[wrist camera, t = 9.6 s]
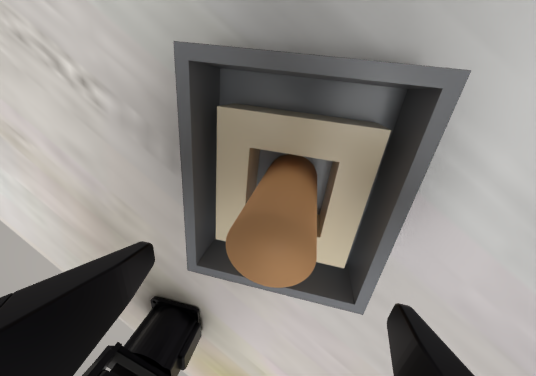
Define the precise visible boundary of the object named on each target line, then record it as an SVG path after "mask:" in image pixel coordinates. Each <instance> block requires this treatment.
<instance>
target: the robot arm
mask: <svg viewBox="0 0 536 376" xmlns="http://www.w3.org/2000/svg"><path fill="white" fill-rule="evenodd" d="M154 262H155V257H154V250H153V245H152V244H151V243H147V242H138V243H136V244H133V245H131V246H128V247H126V248H123V249H121V250H118V251H116V252H113V253H111V254H108V255H106V256H103V257H101V258H98V259H96V260H93V261H91V262H88V263H86V264H83V265H81V266H78V267H76V268H73V269H71V270H68V271H66V272H63V273H61V274H58V275H56V276H53V277H51V278H48V279H46V280H43V281H41V282H38V283H36V284H33V285H31V286H28V287H26V288H23V289H21V290H18V291H16V292H14V293H11V294H8V295H6V296H3V297H1V298H0V376H73V375H74V374H75V373H76V371H77V370H78V369H79V367H80V366H81V365H82V363H83V362H84V361H85V360H86V358H87V357H88V356H89V354H90V353H91V352H92V350H93V349H94V348H95V347H96V345H97V344H98V343H99V341H100V340H101V339H102V337H103V336H104V335H105V334H106V332H107V331H108V330H109V328H110V327H111V326H112V325H113V323H114V322H115V321H116V319H117V318H118V317H119V315H120V314H121V313H122V312H123V310H124V309H125V308H126V306H127V305H128V304H129V302H130V301H131V299H132V298H133V296H134V295H135V293H136V292H137V290H138V289H139V287H140V285H141V284H142V282H143V281H144V279H145V278H146V276H147V274H148V273H149V271H150V270H151V268H152V267H153V265H154ZM151 305H152V310H151V311H150V312H149V314H148V315H147V316H146V318H145V319H144V320H143V322H142V323H141V324H140V326H139V327H138V328H137V329H136V331H135V332H134V333H133V335H132V336H131V337H130V339H129V340H128V341H127V343H126V344H125V345H124V347H123V346H122V344H120V343H119V342H117V344H116V345H115V346H107V347H106V348H105V350H104V351H103V352H102V353H101V355H100V356H99V357H98V358H97V359H96V361H95V362H94V363H93V364H92V365H91V366H90V367H89V368H88V370H87V371H86V372H85V373H84V374H83V375H82V376H177V375H178V373H179V371H180V370H185V369H186V367H187V365H188V363H189V361H190V359H191V356H192V354H193V352H194V350H195V348H196V346H197V344H198V342H199V340H200V337H201V325H200V319H199V310H198V309H197V308H195V307H191V306H188V305H184V304H181V303H177V302H173V301H170V300H166V299H163V298H159V297H153V298H152V299H151ZM387 329H388V337H389V344H390V352H391V359H392V367H393V373H394V376H474V375H473V374H472V373H471V372H470V370H469V369H468V368H467V367H466V366H465V365H464V364H463V363H462V362H461V361H460V360H459V358H458V357H457V356H456V355H455V354H454V353H453V352H452V351H451V350H450V349H449V348H448V346H447V345H446V344H445V343H444V342H443V341H442V340H441V339H440V338H439V337H438V336H437V334H436V333H435V332H434V331H433V330H432V329H431V328H430V327H429V326H428V325H427V324H426V322H425V321H424V320H423V319H422V318H421V317H420V316H419V315H418V314H417V313H416V312H415V311H414V309H413V308H411V307H410V306H408V305H403V304H399V303H397V304H395V306H394V307H393V309H392V311H391V313H390V315H389V317H388V320H387ZM106 367H108V368H110V369H111V371H110V372H109V371H107V370H105V369H106Z"/></svg>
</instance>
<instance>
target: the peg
mask: <svg viewBox="0 0 536 376" xmlns="http://www.w3.org/2000/svg"><path fill="white" fill-rule="evenodd" d="M226 251H227V255H228V257H229V259H230V261H231V263H232V264H233V266H234V267H235V268H236V270H237V271H238V272H239V273H241V274H242V275H243V276H244V277H246V278H247V279H249V280H251V281H253V282H255V283H257V284H260V285H263V286H267V287H274V288H283V287H290V286H293V285H296V284H298V283H301V282H302V281H304V280H305V279H306V278H307V277H309V275H310V274H311V273H312V271H313V270H314V267H315V265H316V260H317V173H316V170H315V167H314V166H313V164H312V163H311V162H310V161H309V160H308V159H306V158H304V157H303V156H298V155H292V154H287V155H283V156H280V157H278V158H277V159H276V160H274V161H273V162H272V164H271V165H270V167H269V168H268V170H267V171H266V173H265V175H264V176H263V178H262V179H261V181H260V182H259V184H258V186H257V187H256V189H255V190H254V192H253V193H252V195H251V197H250V198H249V200H248V201H247V203H246V204H245V206H244V208H243V209H242V211H241V212H240V214H239V216H238V217H237V219H236V220H235V222H234V223H233V225H232V227H231V228H230V230H229V232H228V234H227V237H226Z"/></svg>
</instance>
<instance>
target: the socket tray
mask: <svg viewBox="0 0 536 376" xmlns="http://www.w3.org/2000/svg"><path fill="white" fill-rule="evenodd" d="M174 57H175V73H176V90H177V106H178V122H179V139H180V155H181V171H182V188H183V204H184V220H185V237H186V253H187V269H188V271H192V272H196V273H200V274H204V275H208V276H212V277H215V278H219V279H223V280H227V281H231V282H235V283H239V284H243V285H247V286H251V287H255V288H259V289H263V290H267V291H271V292H275V293H279V294H283V295H287V296H290V297H294V298H298V299H302V300H306V301H310V302H314V303H318V304H322V305H326V306H330V307H334V308H338V309H342V310H346V311H350V312H354V313H358V314H362V315H363V314H364V311H365V309H366V307H367V305H368V302H369V300H370V298H371V296H372V293H373V291H374V289H375V287H376V284H377V282H378V280H379V278H380V275H381V273H382V271H383V269H384V266H385V264H386V262H387V260H388V257H389V255H390V253H391V251H392V248H393V246H394V244H395V241H396V239H397V237H398V235H399V232H400V230H401V228H402V226H403V223H404V221H405V219H406V217H407V214H408V212H409V210H410V208H411V205H412V203H413V201H414V199H415V196H416V194H417V192H418V190H419V187H420V185H421V183H422V181H423V178H424V176H425V174H426V171H427V169H428V167H429V165H430V162H431V160H432V158H433V156H434V153H435V151H436V149H437V147H438V144H439V142H440V140H441V138H442V135H443V133H444V131H445V129H446V126H447V124H448V122H449V120H450V117H451V115H452V113H453V111H454V108H455V106H456V104H457V101H458V99H459V97H460V95H461V92H462V90H463V88H464V86H465V83H466V81H467V79H468V77H469V74H470V72H471V70H462V69H452V68H442V67H432V66H422V65H412V64H402V63H391V62H381V61H371V60H361V59H351V58H341V57H331V56H320V55H310V54H300V53H290V52H280V51H270V50H260V49H249V48H239V47H229V46H219V45H209V44H199V43H188V42H178V41H174ZM287 154H292V155H298V156H303V157H304V158H306V159H308V160H309V161H310V162H311V163H312V164H313V166H314V167H315V170H316V173H317V260H316V265H315V267H314V270H313V271H312V273H311V274H310V275H309V277H307V278H306V279H305V280H304V281H302V282H301V283H298V284H296V285H293V286H290V287H283V288H274V287H267V286H263V285H260V284H257V283H255V282H253V281H251V280H249V279H247V278H246V277H244V276H243V275H242V274H241V273H239V272H238V271H237V270H236V268H235V267H234V266H233V264H232V263H231V261H230V259H229V257H228V255H227V251H226V237H227V234H228V232H229V230H230V228H231V227H232V225H233V223H234V222H235V220H236V219H237V217H238V216H239V214H240V212H241V211H242V209H243V208H244V206H245V204H246V203H247V201H248V200H249V198H250V197H251V195H252V193H253V192H254V190H255V189H256V187H257V186H258V184H259V182H260V181H261V179H262V178H263V176H264V175H265V173H266V171H267V170H268V168H269V167H270V165H271V164H272V162H273V161H274V160H276V159H277V158H278V157H280V156H283V155H287Z"/></svg>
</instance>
